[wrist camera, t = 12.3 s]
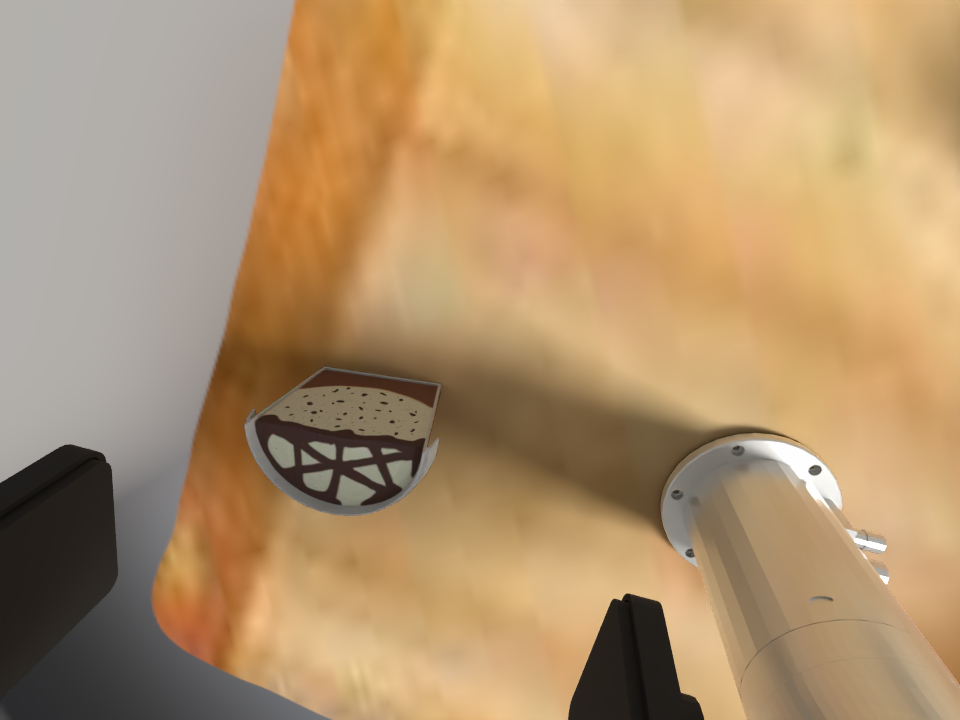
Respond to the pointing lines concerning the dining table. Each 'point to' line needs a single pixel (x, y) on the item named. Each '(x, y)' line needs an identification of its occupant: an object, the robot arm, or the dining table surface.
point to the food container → (347, 440)
